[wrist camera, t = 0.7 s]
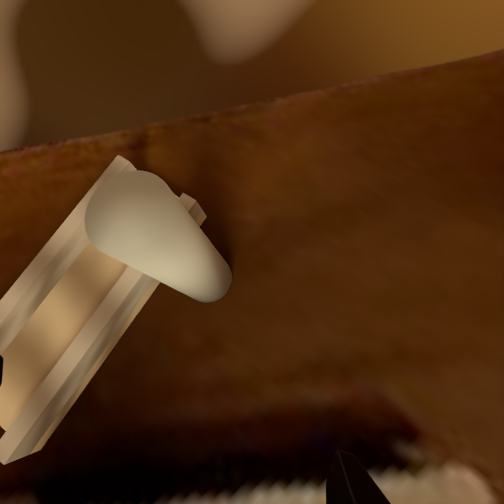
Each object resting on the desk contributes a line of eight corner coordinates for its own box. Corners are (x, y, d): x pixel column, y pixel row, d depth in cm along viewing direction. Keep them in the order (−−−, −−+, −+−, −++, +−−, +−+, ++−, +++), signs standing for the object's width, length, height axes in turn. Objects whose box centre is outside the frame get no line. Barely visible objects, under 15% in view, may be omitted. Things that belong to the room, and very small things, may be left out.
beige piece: (213, 312, 24) (134, 275, 12) (175, 285, 25) (66, 227, 13) (241, 270, 24) (192, 196, 12) (203, 246, 25) (123, 156, 13)
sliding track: (40, 450, 22) (3, 464, 19) (-28, 383, 24) (-71, 388, 21) (206, 216, 26) (196, 200, 23) (135, 174, 28) (118, 154, 25)
